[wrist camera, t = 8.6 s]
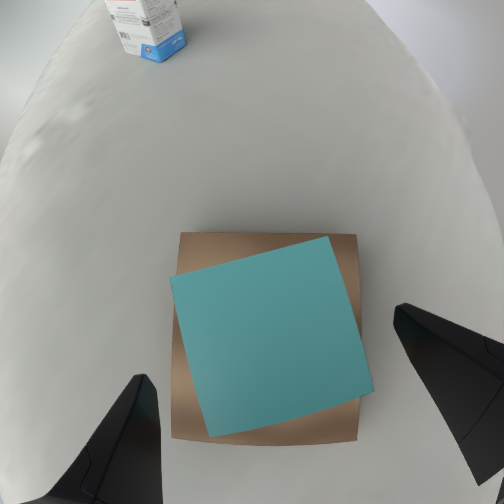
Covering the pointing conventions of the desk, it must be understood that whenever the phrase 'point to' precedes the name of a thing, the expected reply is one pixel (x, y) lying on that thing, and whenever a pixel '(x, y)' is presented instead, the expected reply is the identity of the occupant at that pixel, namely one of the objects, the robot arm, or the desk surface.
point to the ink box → (148, 27)
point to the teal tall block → (270, 337)
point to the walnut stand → (182, 387)
